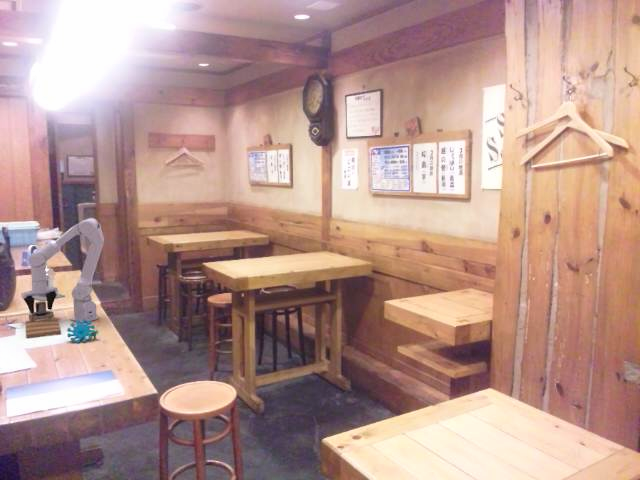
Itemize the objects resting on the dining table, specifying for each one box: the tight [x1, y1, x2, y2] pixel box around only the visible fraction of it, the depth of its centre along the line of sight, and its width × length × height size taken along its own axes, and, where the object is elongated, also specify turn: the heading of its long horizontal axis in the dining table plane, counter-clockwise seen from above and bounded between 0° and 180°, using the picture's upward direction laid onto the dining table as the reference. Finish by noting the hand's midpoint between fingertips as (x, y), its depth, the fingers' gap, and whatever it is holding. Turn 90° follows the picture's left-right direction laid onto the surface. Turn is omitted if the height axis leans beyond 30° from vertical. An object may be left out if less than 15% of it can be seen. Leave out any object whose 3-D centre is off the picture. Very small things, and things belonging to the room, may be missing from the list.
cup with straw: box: [46, 261, 56, 287], centre depth 280 cm, size 8×9×20 cm
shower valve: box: [32, 286, 66, 302], centre depth 273 cm, size 12×6×15 cm
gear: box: [66, 319, 99, 344], centre depth 207 cm, size 11×6×10 cm
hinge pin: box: [34, 301, 47, 316], centre depth 231 cm, size 4×4×8 cm
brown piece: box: [25, 310, 62, 339], centre depth 223 cm, size 29×12×3 cm, turn 29°
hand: (41, 311), depth 231 cm, fingers open, 7 cm apart
